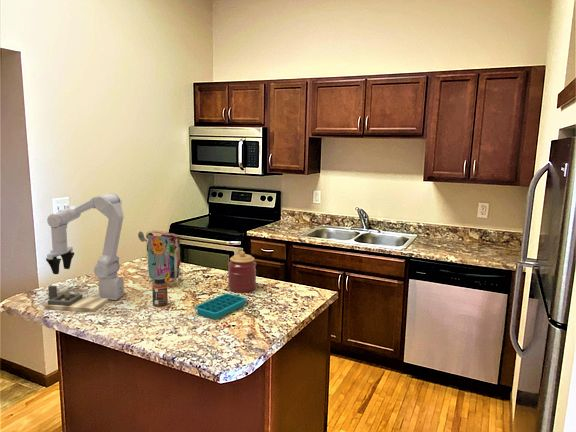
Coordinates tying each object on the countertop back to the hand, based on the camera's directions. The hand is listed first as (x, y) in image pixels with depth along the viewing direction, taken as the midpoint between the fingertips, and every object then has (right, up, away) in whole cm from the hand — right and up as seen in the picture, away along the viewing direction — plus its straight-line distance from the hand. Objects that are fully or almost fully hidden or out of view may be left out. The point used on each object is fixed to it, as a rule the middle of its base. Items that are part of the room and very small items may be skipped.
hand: (61, 271), depth 182 cm
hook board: (+13, -12, -13) cm, 22 cm away
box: (+37, -8, +18) cm, 41 cm away
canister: (+77, -10, +12) cm, 79 cm away
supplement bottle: (+46, -12, -10) cm, 48 cm away
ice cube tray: (+72, -14, -13) cm, 74 cm away
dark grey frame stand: (+9, -10, -13) cm, 19 cm away
